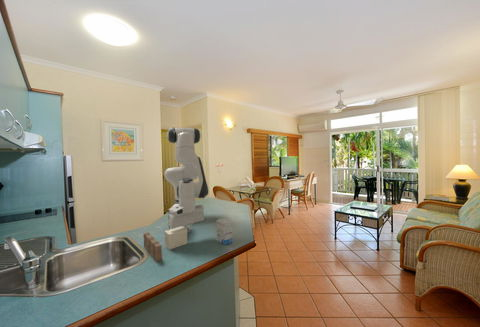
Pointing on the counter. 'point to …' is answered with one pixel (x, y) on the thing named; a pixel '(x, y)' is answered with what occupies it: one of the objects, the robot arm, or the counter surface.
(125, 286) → the counter surface
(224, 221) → the ink box
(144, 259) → the counter surface
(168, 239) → the cream block
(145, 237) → the walnut board
